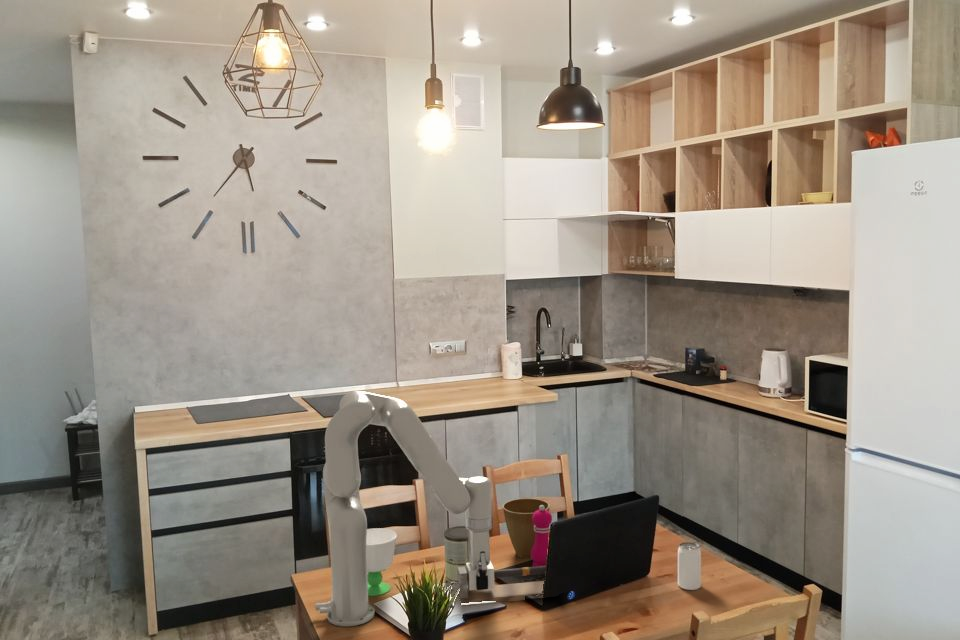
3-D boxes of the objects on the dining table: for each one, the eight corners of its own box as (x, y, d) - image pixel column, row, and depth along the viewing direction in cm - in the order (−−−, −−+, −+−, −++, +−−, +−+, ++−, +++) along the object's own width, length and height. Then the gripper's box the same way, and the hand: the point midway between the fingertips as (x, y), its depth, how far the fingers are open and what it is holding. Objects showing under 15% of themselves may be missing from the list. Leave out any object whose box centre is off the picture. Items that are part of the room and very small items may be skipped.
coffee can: (447, 570, 245) (446, 525, 244) (481, 570, 244) (480, 525, 243) (442, 584, 235) (441, 537, 234) (477, 585, 234) (476, 538, 233)
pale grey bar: (461, 605, 220) (460, 576, 220) (457, 593, 228) (456, 564, 227) (560, 596, 225) (559, 567, 224) (552, 585, 233) (552, 556, 232)
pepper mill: (534, 574, 240) (533, 509, 239) (528, 565, 247) (527, 502, 246) (557, 572, 242) (556, 507, 240) (550, 563, 249) (550, 500, 247)
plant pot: (528, 541, 267) (527, 495, 266) (559, 554, 256) (559, 505, 255) (494, 553, 258) (493, 504, 257) (525, 566, 247) (524, 516, 245)
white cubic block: (469, 590, 222) (469, 570, 221) (466, 582, 227) (466, 562, 227) (494, 588, 223) (494, 568, 222) (490, 579, 228) (490, 560, 228)
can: (686, 592, 226) (686, 551, 225) (673, 583, 232) (673, 543, 231) (705, 588, 228) (705, 547, 227) (691, 580, 234) (691, 540, 233)
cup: (390, 601, 224) (388, 546, 223) (344, 597, 227) (342, 543, 226) (404, 581, 238) (403, 529, 236) (360, 578, 240) (358, 527, 239)
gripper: (461, 513, 231) (462, 573, 233) (470, 533, 214) (471, 598, 216) (486, 511, 232) (488, 571, 234) (498, 531, 215) (499, 596, 217)
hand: (480, 583), depth 225 cm, fingers closed on white cubic block, 5 cm apart
